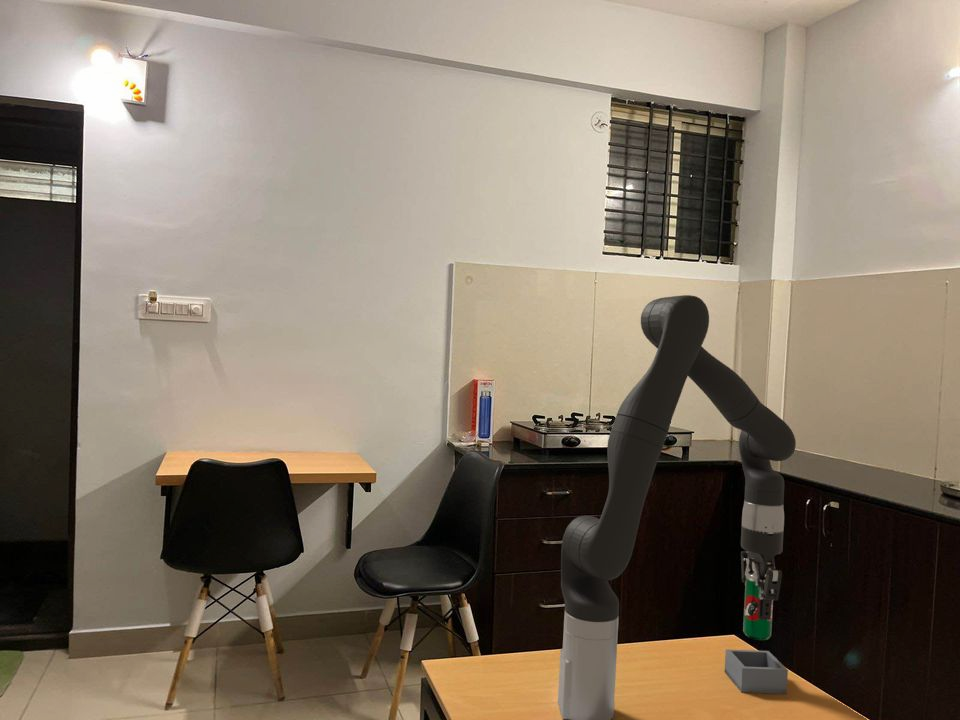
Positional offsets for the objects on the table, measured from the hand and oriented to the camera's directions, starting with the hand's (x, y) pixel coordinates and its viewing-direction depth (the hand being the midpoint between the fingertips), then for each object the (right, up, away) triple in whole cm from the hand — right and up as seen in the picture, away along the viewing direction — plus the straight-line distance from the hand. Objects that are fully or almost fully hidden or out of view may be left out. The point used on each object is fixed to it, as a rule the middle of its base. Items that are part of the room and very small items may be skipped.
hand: (758, 613), depth 140 cm
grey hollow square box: (-1, -13, 0) cm, 13 cm away
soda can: (0, -5, 0) cm, 5 cm away
